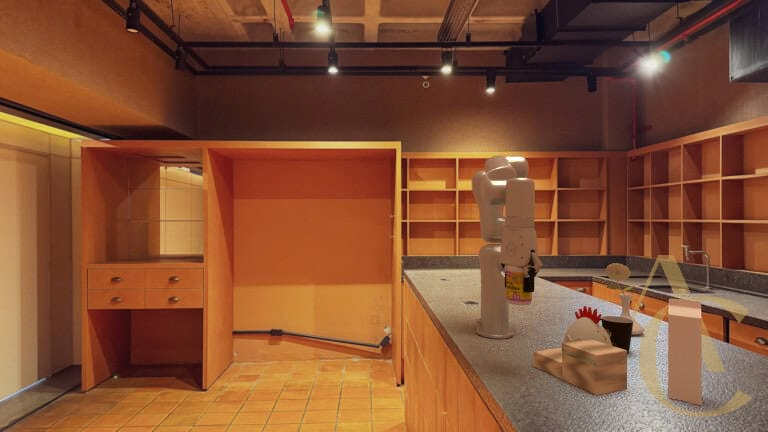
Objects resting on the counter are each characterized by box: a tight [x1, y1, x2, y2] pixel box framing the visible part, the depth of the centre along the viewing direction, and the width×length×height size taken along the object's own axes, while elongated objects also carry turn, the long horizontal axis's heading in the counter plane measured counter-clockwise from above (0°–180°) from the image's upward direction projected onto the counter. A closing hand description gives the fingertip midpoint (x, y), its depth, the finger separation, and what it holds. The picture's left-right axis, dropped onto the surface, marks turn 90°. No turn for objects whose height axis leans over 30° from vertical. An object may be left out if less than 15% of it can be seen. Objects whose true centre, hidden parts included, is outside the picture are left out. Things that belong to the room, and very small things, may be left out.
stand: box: [532, 339, 628, 396], centre depth 104 cm, size 20×10×9 cm, turn 22°
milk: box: [667, 298, 703, 406], centre depth 92 cm, size 6×6×22 cm
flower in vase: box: [604, 262, 645, 336], centre depth 147 cm, size 13×11×25 cm
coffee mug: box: [598, 315, 633, 356], centre depth 126 cm, size 12×9×10 cm
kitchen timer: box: [562, 305, 612, 346], centre depth 119 cm, size 14×14×15 cm
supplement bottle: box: [506, 265, 533, 306], centre depth 110 cm, size 7×7×13 cm
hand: (519, 289), depth 110 cm, fingers closed on supplement bottle, 6 cm apart
